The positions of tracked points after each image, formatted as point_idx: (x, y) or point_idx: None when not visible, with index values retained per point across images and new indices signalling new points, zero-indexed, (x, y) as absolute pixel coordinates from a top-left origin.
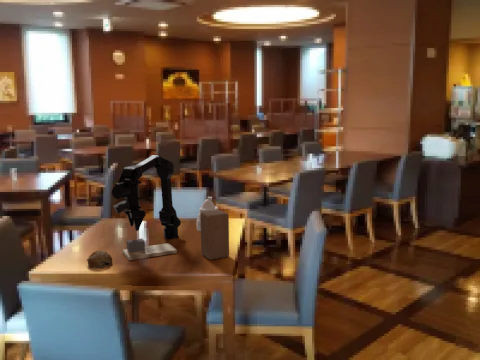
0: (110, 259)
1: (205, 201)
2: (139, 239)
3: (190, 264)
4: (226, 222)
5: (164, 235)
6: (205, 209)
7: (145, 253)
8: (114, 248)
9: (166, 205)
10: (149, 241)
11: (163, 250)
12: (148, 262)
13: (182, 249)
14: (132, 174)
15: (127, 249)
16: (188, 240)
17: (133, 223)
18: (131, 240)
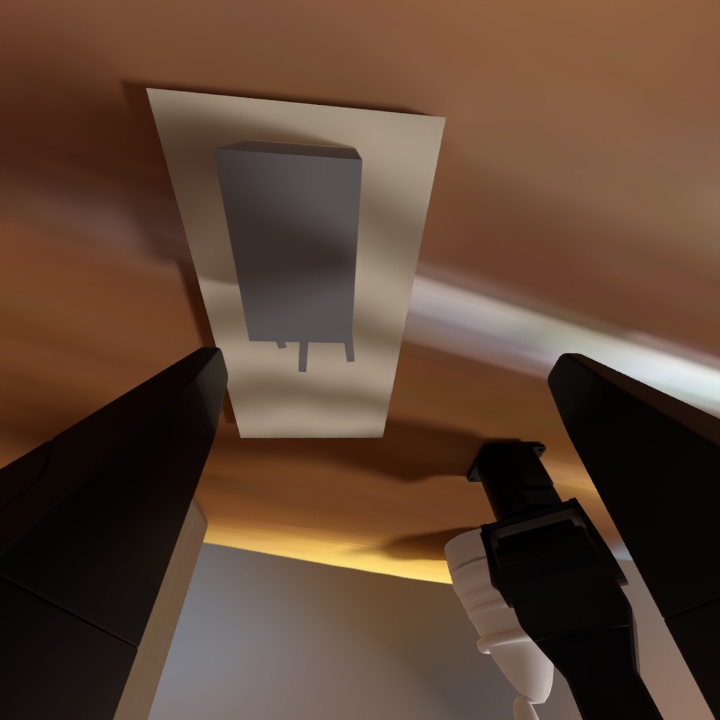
0: None
1: (535, 688)
2: (334, 317)
3: (24, 423)
4: None
5: (521, 452)
6: (502, 644)
7: (225, 280)
8: (636, 80)
9: (602, 706)
10: (535, 377)
11: (255, 389)
12: (76, 244)
13: (293, 450)
14: None
15: (346, 148)
16: (407, 488)
17: (563, 417)
18: (345, 228)
